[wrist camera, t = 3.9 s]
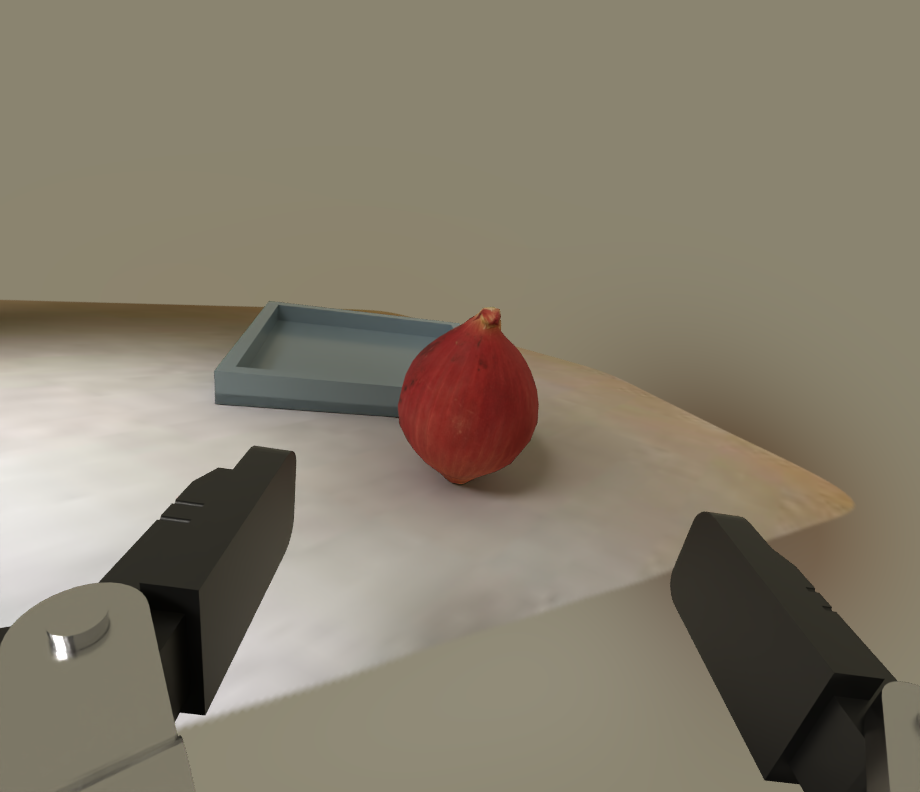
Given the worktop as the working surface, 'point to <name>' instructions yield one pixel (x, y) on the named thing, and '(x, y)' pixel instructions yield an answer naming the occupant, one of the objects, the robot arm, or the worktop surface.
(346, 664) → the worktop surface
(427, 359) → the onion
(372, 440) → the worktop surface
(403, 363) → the dish
